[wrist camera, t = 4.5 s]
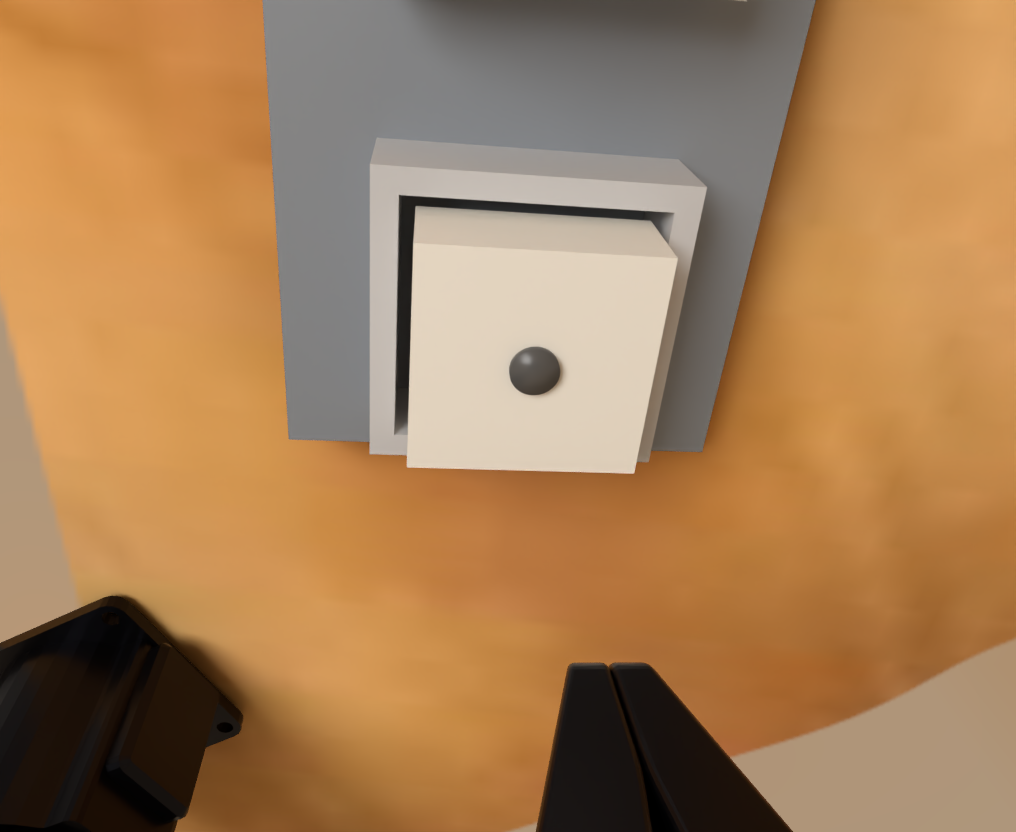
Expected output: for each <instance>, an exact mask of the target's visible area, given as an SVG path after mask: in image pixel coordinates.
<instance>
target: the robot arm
mask: <svg viewBox="0 0 1016 832" xmlns="http://www.w3.org/2000/svg"><path fill="white" fill-rule="evenodd" d="M109 612H112V613H115V614H117V615H113V614H111V613H109ZM242 723H243V715H242V713H241V712H240V711H239V710H238V709H237V708H236V707H235V706H234V705H233V704H232V703H231V702H230V701H229V700H228V699H227V698H226V697H225V696H224V695H223V694H222V693H221V692H220V691H219V690H218V689H217V688H216V687H215V686H214V685H213V684H212V683H211V682H210V681H209V680H208V679H207V678H206V677H205V676H204V675H203V674H202V673H201V672H200V671H199V670H198V669H197V668H196V667H195V666H194V665H193V664H192V663H191V662H190V661H189V660H188V659H187V658H186V657H185V656H184V655H183V654H182V653H181V652H180V651H178V650H177V649H176V648H175V647H174V646H173V645H172V644H171V643H170V642H169V641H168V640H167V639H166V638H165V637H164V636H163V635H162V634H161V633H160V632H159V631H158V630H157V629H156V628H155V627H154V626H153V625H152V624H151V623H150V622H149V621H148V620H147V619H146V618H145V617H144V616H143V615H142V614H141V613H140V612H139V611H138V610H137V609H136V608H135V607H134V606H133V605H132V604H131V603H130V602H128V601H127V600H126V599H124V598H121V597H118V596H108V597H104V598H102V599H100V600H97V601H95V602H93V603H90V604H88V605H86V606H84V607H81V608H79V609H77V610H74V611H72V612H70V613H68V614H66V615H63V616H61V617H59V618H56V619H54V620H52V621H50V622H47V623H45V624H43V625H40V626H38V627H36V628H33V629H31V630H29V631H27V632H25V633H22V634H20V635H18V636H15V637H13V638H11V639H8V640H6V641H4V642H1V643H0V832H174V831H175V828H176V824H177V821H178V819H181V818H183V817H185V816H186V814H187V813H188V810H189V806H190V802H191V799H192V795H193V791H194V788H195V784H196V781H197V777H198V773H199V770H200V766H201V762H202V759H203V755H204V751H205V748H206V747H208V746H211V745H213V744H216V743H218V742H221V741H223V740H226V739H228V738H231V737H234V736H235V735H237V734H239V732H240V730H241V727H242ZM536 832H793V831H792V830H791V829H790V828H789V826H788V825H787V824H786V823H785V822H784V821H783V819H782V818H781V817H780V816H779V815H778V814H777V812H776V811H775V810H774V809H773V808H772V807H771V805H770V804H769V803H768V802H767V801H766V799H765V798H764V797H763V796H762V795H761V794H760V792H759V791H758V790H757V789H756V788H755V787H754V785H753V784H752V783H751V782H750V781H749V780H748V778H747V777H746V776H745V775H744V774H743V773H742V771H741V770H740V769H739V768H738V767H737V766H736V764H735V763H734V762H733V761H732V760H731V759H730V757H729V756H728V755H727V754H726V753H725V751H724V750H723V749H722V748H721V747H720V746H719V744H718V743H717V742H716V741H715V740H714V739H713V737H712V736H711V735H710V734H709V733H708V732H707V730H706V729H705V728H704V727H703V726H702V725H701V723H700V722H699V721H698V720H697V719H696V718H695V716H694V715H693V714H692V713H691V712H690V711H689V709H688V708H687V707H686V706H685V705H684V704H683V702H682V701H681V700H680V699H679V698H678V696H677V695H676V694H675V693H674V692H673V691H672V689H671V688H670V687H669V686H668V685H667V684H666V682H665V681H664V680H663V679H662V678H661V677H660V675H659V674H658V673H657V672H656V671H655V670H654V669H653V668H652V667H651V666H650V665H648V664H646V663H612V664H611V665H609V667H608V666H607V665H606V664H604V663H572V664H570V665H569V666H568V669H567V673H566V678H565V683H564V688H563V694H562V699H561V704H560V709H559V714H558V719H557V725H556V730H555V735H554V740H553V745H552V750H551V756H550V761H549V766H548V771H547V776H546V781H545V787H544V792H543V797H542V802H541V807H540V812H539V818H538V823H537V828H536Z"/></svg>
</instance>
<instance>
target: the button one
mask: <svg viewBox="0 0 1016 832" xmlns="http://www.w3.org/2000/svg"><path fill="white" fill-rule="evenodd" d="M677 261H678V258H677V256H676V255H675V254H674V252H673V251H672V249H671V248H670V247H669V245H668V244H667V242H666V241H665V240H664V238H663V237H662V235H661V234H660V233H659V231H658V230H657V229H656V227H655V226H654V224H653V223H652V222H651V221H647V220H631V219H615V218H600V217H584V216H568V215H552V214H536V213H520V212H505V211H489V210H473V209H457V208H441V207H425V206H416V208H415V224H414V240H413V271H412V305H411V340H410V374H409V409H408V443H407V467H413V468H449V469H486V470H522V471H558V472H595V473H631V474H634V472H635V467H636V462H637V457H638V452H639V447H640V442H641V437H642V432H643V428H644V423H645V418H646V413H647V408H648V403H649V398H650V393H651V388H652V383H653V378H654V374H655V369H656V364H657V359H658V354H659V349H660V344H661V339H662V334H663V329H664V325H665V320H666V315H667V310H668V305H669V300H670V295H671V290H672V285H673V280H674V275H675V271H676V266H677Z"/></svg>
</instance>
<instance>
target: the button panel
mask: <svg viewBox="0 0 1016 832" xmlns="http://www.w3.org/2000/svg"><path fill="white" fill-rule="evenodd" d="M815 1H816V0H263V15H264V32H265V49H266V65H267V82H268V99H269V115H270V132H271V149H272V166H273V182H274V199H275V216H276V233H277V249H278V266H279V283H280V299H281V316H282V333H283V350H284V366H285V383H286V400H287V416H288V433H289V439H294V440H326V441H359V442H370V454H383V455H407V443H408V409H409V374H410V340H411V305H412V271H413V240H414V224H415V208H416V206H425V207H441V208H457V209H473V210H489V211H505V212H520V213H536V214H552V215H568V216H584V217H600V218H615V219H631V220H647V221H651V222H652V223H653V224H654V226H655V227H656V229H657V230H658V231H659V233H660V234H661V235H662V237H663V238H664V240H665V241H666V242H667V244H668V245H669V247H670V248H671V249H672V251H673V252H674V254H675V255H676V256H677V258H678V261H677V266H676V271H675V275H674V280H673V285H672V290H671V295H670V300H669V305H668V310H667V315H666V320H665V325H664V329H663V334H662V339H661V344H660V349H659V354H658V359H657V364H656V369H655V374H654V378H653V383H652V388H651V393H650V398H649V403H648V408H647V413H646V418H645V423H644V428H643V432H642V437H641V442H640V447H639V452H638V457H637V462H649V458H650V453H651V451H683V452H702V450H703V446H704V442H705V438H706V434H707V430H708V426H709V422H710V418H711V414H712V410H713V406H714V402H715V398H716V394H717V390H718V386H719V383H720V379H721V375H722V371H723V367H724V363H725V359H726V355H727V351H728V347H729V343H730V339H731V335H732V331H733V327H734V323H735V319H736V315H737V311H738V307H739V303H740V299H741V295H742V291H743V287H744V283H745V279H746V275H747V271H748V267H749V263H750V259H751V255H752V251H753V247H754V243H755V239H756V236H757V232H758V228H759V224H760V220H761V216H762V212H763V208H764V204H765V200H766V196H767V192H768V188H769V184H770V180H771V176H772V172H773V168H774V164H775V160H776V156H777V152H778V148H779V144H780V140H781V136H782V132H783V128H784V124H785V120H786V116H787V112H788V108H789V104H790V100H791V96H792V92H793V89H794V85H795V81H796V77H797V73H798V69H799V65H800V61H801V57H802V53H803V49H804V45H805V41H806V37H807V33H808V29H809V25H810V21H811V17H812V13H813V9H814V5H815Z"/></svg>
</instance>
